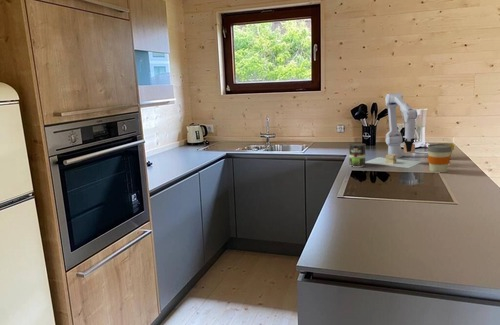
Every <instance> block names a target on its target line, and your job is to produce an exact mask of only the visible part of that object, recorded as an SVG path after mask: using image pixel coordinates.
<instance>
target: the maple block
mask: <svg viewBox="0 0 500 325" xmlns="http://www.w3.org/2000/svg"><path fill="white" fill-rule="evenodd" d="M385 158H386V161H385V163H390V164H394V163H396V159H398V158H397V155H393V154H388V153H387V154H386V155H385Z"/></svg>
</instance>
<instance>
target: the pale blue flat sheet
mask: <svg viewBox="0 0 500 325" xmlns="http://www.w3.org/2000/svg"><path fill="white" fill-rule="evenodd" d="M385 161H386V157H382V156H379V157H378V156H377V157H375V158H372V159H369V160H365V164H374V165H381V166H388V167H396V168H397V167H398V168H405V169H409V168H411V167H414V166H416V165H418V164H420V163H422V161H418V160H417V161H416V160H407V159H406V160H405V159H399V158H397V159H396V163H394V164H390V163H385Z"/></svg>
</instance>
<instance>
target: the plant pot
mask: <svg viewBox="0 0 500 325" xmlns="http://www.w3.org/2000/svg"><path fill="white" fill-rule="evenodd" d="M438 144H446V145H450V146H451V150H452V151H451V153H450V156H452V153H453V151H454V149H455V144H454V143H449V142H444V143H443V142H442V143H441V142H439V143H438Z"/></svg>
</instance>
